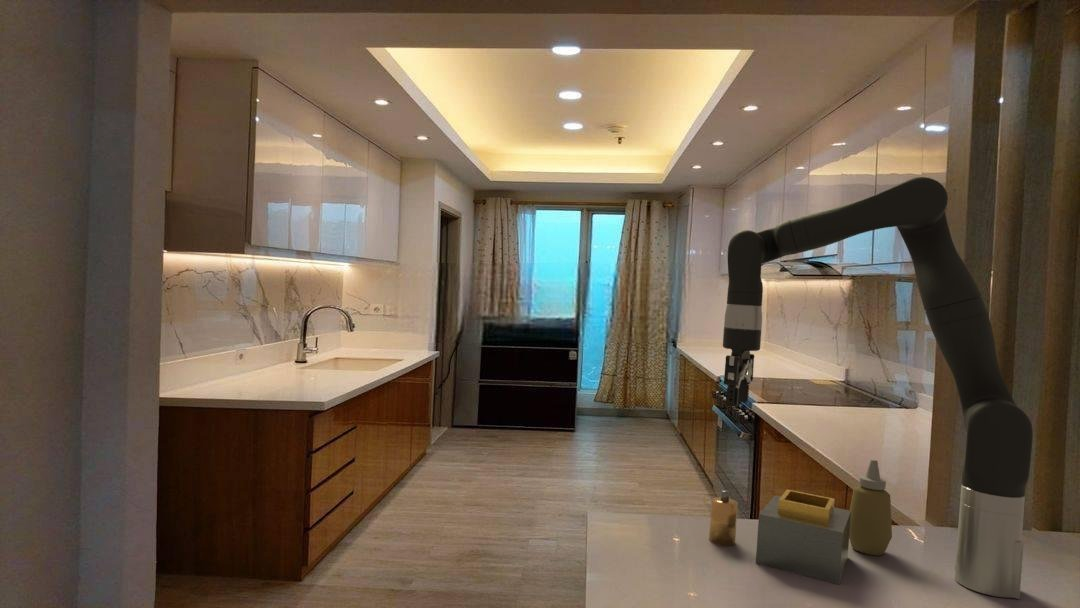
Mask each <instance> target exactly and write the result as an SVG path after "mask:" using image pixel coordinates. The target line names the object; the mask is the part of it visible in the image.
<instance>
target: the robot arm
mask: <svg viewBox="0 0 1080 608" xmlns="http://www.w3.org/2000/svg"><path fill="white" fill-rule="evenodd" d="M948 196H949V195H948V192H947V190H946V188H945V187H944V185H943V184H942V183H941V182H939V181H938V180H936V179H933V178H930V177H925V176H918V177H917V176H915V177H912V178H910V179H908V180H905V181H903V182H901V183H899V184H897V185H894V186H892V187H890V188H888V189H885V190H883V191H881V192H879V193H876V194H873V195H871V196H868V197H864V198H862V199H859V200H856V201H854V202H850V203H847V204H843V205H841V206H836V207H833V208H828V209H826V210H825V209H824V210H822V211H817V212H813V213H810V214H807V215H802V216H799V217H795V218H791V219H787V220H784V221H782V222H779V224H777V225H776V226H774V227H771V228H766V229H763V230H759V231H756V232H755V231H753V230H749V229H744V230H740V231H737V232H736V233H734V235H732V237H731V239H730V240H729V242H728V247H727V273H728V287H727V294H726V295H727V296H726V308H725V313H724V323H723V336H722V347H723V348H724V349H726V350H731V354H730V355H729V354H727V355H726V356H725V361H724V362H725V363H724V364H725V365H724V374H723V375H724V376H723V385H725V386H726V400H725V404H726V405H725V406H727V407H732V408H733V407H734V408H736V407H738V405H739V403H747V402H749V392H750V386H751V382H753V381H754V365H755V364H754V363H755V354H754V353H751V352H758V351H760V350H761V344H762V343H761V341H762V327H763V326H762V325H763V307H762V306H763V295H764V294H763V292H764V287H763V281H762V265H763V264H765V263H769V262H772V261H775V260H777V259H781V258H784V257H787V256H791V255H796V254H801V253H804V252H808V251H812V250H816V249H819V248H824V247H827V246H830V245H832V244H836V243H838V242H841V241H843V240H846V239H848V238H852V237H854V236H857V235H861V234H864V233H868V232H871V231H877V230H881V229H886V228H893V227H896V228H897V230H898V232H899V234H900V235H901V238H902V240H903V243H904V244H905V246H906V249H907V251H908V253H909V255H910V258H911V261H912V264H913V269H914V275H915V279H916V284H917V288H918V292H919V295H920V299H921V302H922V306H923V309H924V311H925V315H926V318H927V321H928V325H929V326H930V329H931V331H932V334H933V337H934V338H935V339H934V340H935V341H936V343H937V346H938V347H939V350H940V352H941V354H942V356H943V358H944V360H945V362H946V365H948V368H949V370H950V372H951V375H952V376H953V379H954V383H955V386H956V389H957V393H958V397H959V401H960V406H961V410H962V416H963V423H964V428H965V430H966V442H965V443H966V444H965V445H966V446H965V456H964V457H965V458H964V463H963V468H962V471H961V472H962V473H961V485H960V487H961V488H960V498H959V499H960V500H959V515H958V528H957V540H956V553H955V554H956V555H955V566H954V579H955V581H956V582H957V583H958V584H960V585H961V586H963V587H965V588H967V589H970V590H972V591H975V592H977V593H981V594H983V595H987V596H993V597H998V598H1012V599H1017V600H1020V599H1021V598H1020V597H1021V588H1022V587H1021V584H1022V573H1023V561H1024V560H1023V559H1024V547H1025V546H1024V542H1023V540H1022V539H1023V529H1024V528H1023V526H1024V525H1023V524H1024V510H1025V500H1026V499H1025V496H1026V488H1027V487H1026V486H1027V484H1028V481H1029V478H1030V469H1031V462H1032V461H1031V459H1032V449H1033V437H1034V435H1033V425H1032V424H1033V423H1032V422H1031V419H1030V417H1029V416H1028V415H1027V413H1026V412H1025V411H1024V410H1022V409H1021V408H1020V407H1019V406H1018V405H1017V403H1016V402H1015V400H1014V398H1013V396H1012V394H1011V392H1010V390H1009V388H1008V385H1007V384H1006V381H1005V380H1004V377H1003V375H1002V373H1001V369H1000V366H999V362H998V357H997V356H998V355H997V349H996V343H995V342H996V340H995V336H994V331H993V327H992V323H991V319H990V316H989V313H988V310H987V308H986V304H985V301H984V299H983V296H982V294H981V292H980V289H979V287H978V285H977V282H976V281H975V280H974V277H973V276H972V274H971V272H970V271H969V269H968V267H967V266H966V264H965V263H964V261H963V259H962V257H961V256H960V255H959V253H958V251H957V249H956V247H955V244H954V242H953V238H952V235H951V232H950V227H949V225H948V220H947V215H946V209H947V206H948V204H949V203H948V202H949V201H948V200H949V197H948Z"/></svg>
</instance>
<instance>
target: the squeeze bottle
mask: <svg viewBox="0 0 1080 608" xmlns="http://www.w3.org/2000/svg"><path fill="white" fill-rule="evenodd" d="M867 467H868V468H867V471H866V474H865V475H860V476H859V480H858V481H859V482H858V483H859V485H858V486H855V487H854V488H853V490H852V491H853V492H852V497H851V502H850V507H849V511H851V518H850V532H849V542H850V545H851V548H852V547H853V548H854V549H853V548H852V549H853V550H855V551H857V550H858V551H857V552H859V551H860V553H862V554H866V555H871V556H881V555H884V554H886V553H885V552H886V550H887V548H888V546H889V544H890V542H891V540H892V537H893V529H892V528H893V527H892V506H891V505H892V503H891V494H890V493H889V492H888V491H887V490H885V489H887V488H886V487H887V486H886V485H887V481H886V480H885V479H883V478H881V475H880V469H879V463H878V460H876V459H870V461H869V465H868V466H867Z"/></svg>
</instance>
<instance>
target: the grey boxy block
mask: <svg viewBox="0 0 1080 608" xmlns="http://www.w3.org/2000/svg"><path fill="white" fill-rule="evenodd" d="M850 518H851V511H850V509H845V508H839V507H835V498H832V497H829V496H828V497H827V496H822V495H819V494H818V495H816V494H812V493H806V492H802V491H798V490H791V489H786V490H785V491H784V492H783V494H782V495H781V496H780V495H774V496H773V497H772V498H771V499H770V501H769V502H768V503H767V504H766V505H765V506H764V508H763V509H762V510H761V512H759V514H758V523H757V539H756V552H755V553H756V555H755V564H758V565H761V564H762V566H766V567H770V568H773V569H778V570H780V571H781V570H782V571H785V572H788V573H792V572H793V573H794V574H796V573H797V574H796V575H800V576H804V577H808V576H809V578H812V579H815V578H817V579H816V580H819V579H820V581H823V580H824V581H823V582H827V581H828V582H827V583H831V584H835V585H840V583H841V580H842V577H843V574H844V572H845V571H844V570H845V568H846V565H845V564H847V561H848V558H847V557H849V546H850V543H849V542H850V539H849V532H850ZM844 567H845V568H844ZM793 573H792V574H793Z"/></svg>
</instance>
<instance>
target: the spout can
mask: <svg viewBox="0 0 1080 608" xmlns="http://www.w3.org/2000/svg"><path fill="white" fill-rule="evenodd" d="M730 492H731V491H730V490H727V489H721V491H720V496H715V497H712V498H711V507H710V518H709V519H710V521H709V532H708V534H709V535H708V536H709V537H708V540H709V542H711V543H712V544H715V545H718V546H723V547H732V546H735V544H736V536H737V533H736V532H737V521H738V520H737V519H738V506H739V505H738V504H739V502H738V501H737V500H735V499H732V498H730Z"/></svg>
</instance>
